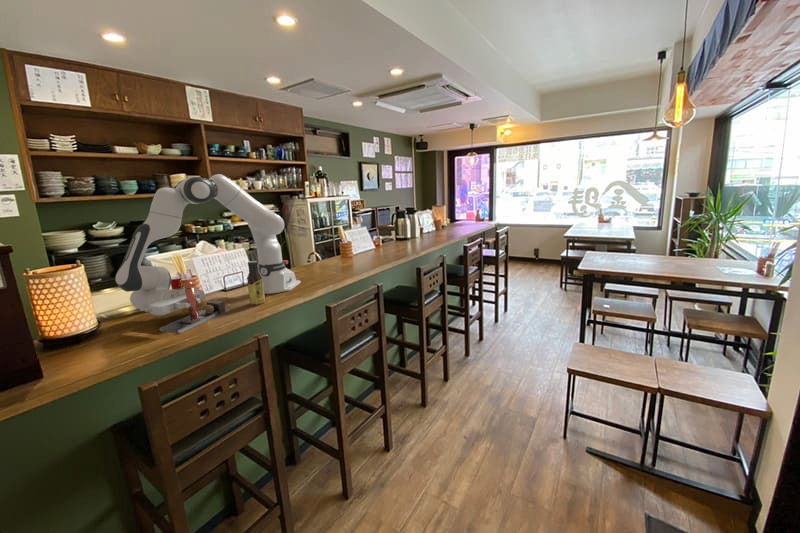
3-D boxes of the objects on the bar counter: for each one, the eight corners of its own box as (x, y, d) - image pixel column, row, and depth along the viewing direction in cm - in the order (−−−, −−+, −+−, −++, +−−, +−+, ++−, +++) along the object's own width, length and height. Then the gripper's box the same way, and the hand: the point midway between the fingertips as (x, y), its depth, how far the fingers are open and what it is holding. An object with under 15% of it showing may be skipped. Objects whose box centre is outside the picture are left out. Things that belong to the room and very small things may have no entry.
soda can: (183, 303, 162) (178, 278, 159) (172, 303, 162) (166, 278, 159) (190, 299, 167) (186, 275, 164) (179, 299, 167) (174, 275, 165)
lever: (197, 315, 141) (189, 278, 137) (210, 316, 139) (203, 279, 135) (181, 322, 134) (173, 283, 131) (196, 323, 132) (188, 284, 128)
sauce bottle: (260, 308, 150) (253, 263, 146) (247, 308, 151) (240, 263, 147) (268, 303, 156) (262, 260, 152) (256, 302, 158) (250, 260, 153)
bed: (212, 310, 150) (210, 299, 149) (231, 312, 147) (229, 300, 146) (160, 334, 128) (157, 320, 127) (181, 336, 125) (178, 322, 124)
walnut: (209, 312, 145) (207, 303, 144) (217, 312, 143) (215, 303, 143) (201, 315, 141) (199, 306, 140) (209, 316, 140) (207, 307, 139)
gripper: (139, 302, 128) (167, 304, 124) (187, 286, 147) (213, 287, 143) (143, 318, 129) (171, 321, 125) (190, 300, 148) (216, 302, 144)
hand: (194, 303), depth 134 cm, fingers closed on lever, 3 cm apart
